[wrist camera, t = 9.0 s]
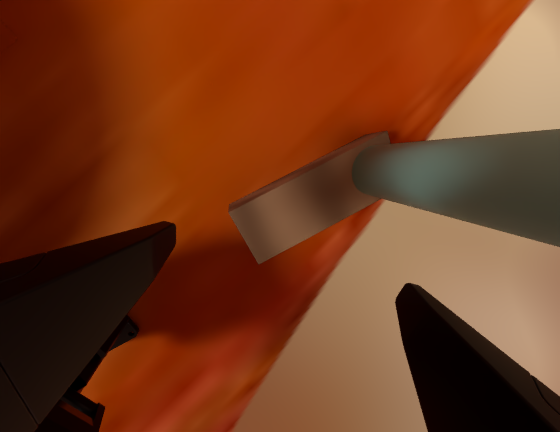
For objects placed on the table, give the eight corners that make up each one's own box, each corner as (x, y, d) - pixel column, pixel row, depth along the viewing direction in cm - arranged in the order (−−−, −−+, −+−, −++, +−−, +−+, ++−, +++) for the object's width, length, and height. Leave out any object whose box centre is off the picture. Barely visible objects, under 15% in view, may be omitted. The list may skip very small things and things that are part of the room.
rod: (350, 195, 18) (587, 272, 6) (353, 145, 17) (646, 114, 5) (392, 193, 19) (679, 258, 7) (398, 145, 18) (747, 118, 6)
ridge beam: (255, 250, 21) (258, 264, 18) (229, 204, 20) (228, 212, 17) (381, 183, 22) (402, 187, 19) (365, 134, 21) (387, 130, 18)
